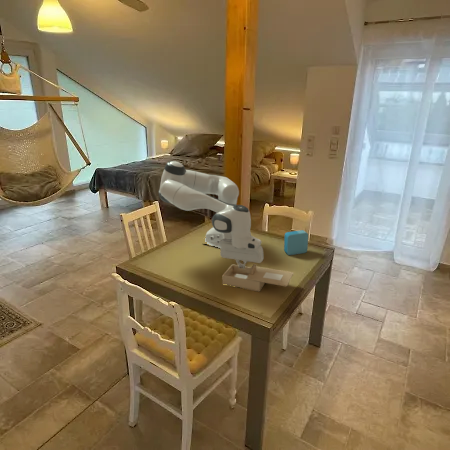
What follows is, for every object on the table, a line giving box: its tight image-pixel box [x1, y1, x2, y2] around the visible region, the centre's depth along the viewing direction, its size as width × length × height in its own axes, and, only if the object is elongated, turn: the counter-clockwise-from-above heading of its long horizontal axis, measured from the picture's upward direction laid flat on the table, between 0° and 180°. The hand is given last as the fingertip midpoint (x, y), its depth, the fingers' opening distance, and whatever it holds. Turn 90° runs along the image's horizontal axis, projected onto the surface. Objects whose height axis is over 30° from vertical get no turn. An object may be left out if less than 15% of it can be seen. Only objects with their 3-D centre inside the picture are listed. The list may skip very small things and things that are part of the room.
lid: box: [246, 263, 294, 287], centre depth 158 cm, size 18×13×4 cm
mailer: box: [221, 263, 266, 293], centre depth 164 cm, size 18×12×5 cm, turn 67°
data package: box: [283, 229, 309, 256], centre depth 192 cm, size 12×4×12 cm, turn 105°
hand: (241, 268), depth 164 cm, fingers closed
